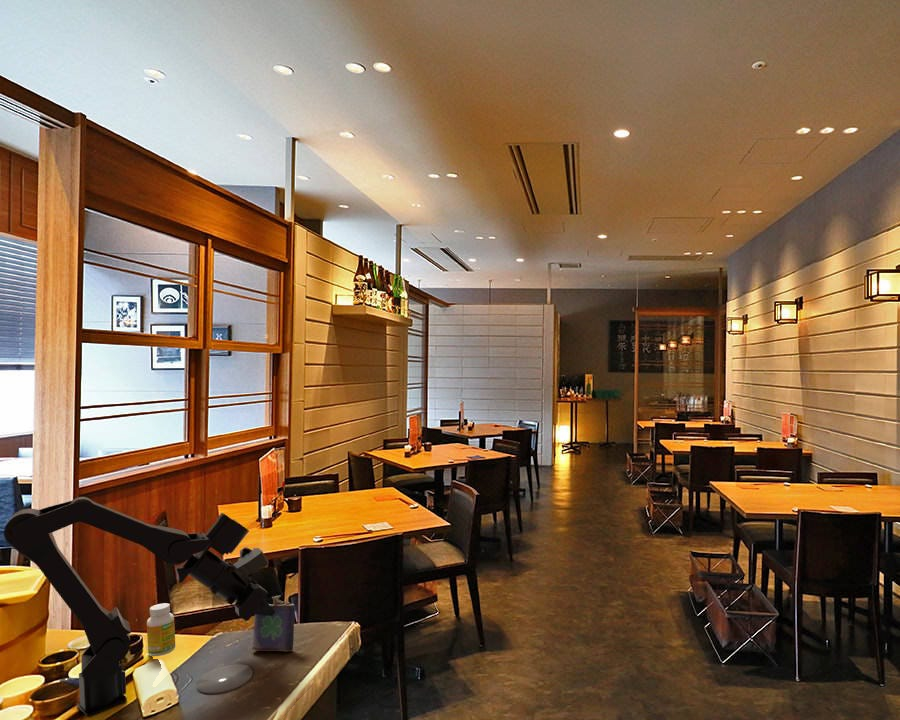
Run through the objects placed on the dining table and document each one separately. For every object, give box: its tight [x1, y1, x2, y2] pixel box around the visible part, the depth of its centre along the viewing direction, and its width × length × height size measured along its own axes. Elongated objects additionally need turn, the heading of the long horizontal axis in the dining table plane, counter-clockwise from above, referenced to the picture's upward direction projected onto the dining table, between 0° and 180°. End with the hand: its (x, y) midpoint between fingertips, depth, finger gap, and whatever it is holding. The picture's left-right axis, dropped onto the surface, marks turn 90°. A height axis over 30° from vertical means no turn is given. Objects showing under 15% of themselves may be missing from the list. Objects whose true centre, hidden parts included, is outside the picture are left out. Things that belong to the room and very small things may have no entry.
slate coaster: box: [196, 663, 253, 695], centre depth 113 cm, size 10×10×1 cm
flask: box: [251, 595, 296, 652], centre depth 126 cm, size 9×3×11 cm, turn 77°
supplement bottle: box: [146, 602, 176, 657], centre depth 129 cm, size 5×5×10 cm
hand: (273, 613), depth 125 cm, fingers closed
